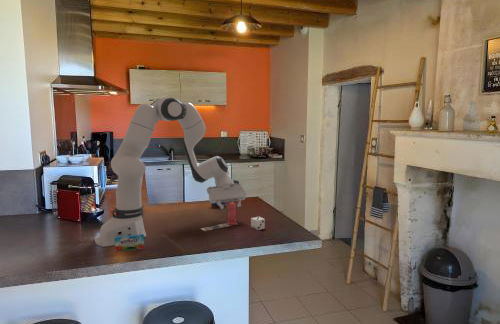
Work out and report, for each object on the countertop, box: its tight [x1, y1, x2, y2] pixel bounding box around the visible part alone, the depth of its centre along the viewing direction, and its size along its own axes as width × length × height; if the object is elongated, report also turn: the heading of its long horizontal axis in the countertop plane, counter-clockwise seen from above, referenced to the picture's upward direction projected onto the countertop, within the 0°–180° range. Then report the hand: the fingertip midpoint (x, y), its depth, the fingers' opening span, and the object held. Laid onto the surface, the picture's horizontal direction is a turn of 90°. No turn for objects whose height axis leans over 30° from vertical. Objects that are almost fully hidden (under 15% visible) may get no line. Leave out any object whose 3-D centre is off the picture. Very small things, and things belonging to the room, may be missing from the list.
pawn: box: [226, 201, 237, 226], centre depth 183 cm, size 5×5×11 cm
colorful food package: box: [114, 234, 146, 253], centre depth 150 cm, size 12×2×6 cm, turn 108°
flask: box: [210, 202, 227, 208], centre depth 220 cm, size 9×3×11 cm, turn 88°
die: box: [250, 216, 266, 231], centre depth 179 cm, size 5×5×5 cm
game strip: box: [200, 222, 238, 232], centre depth 179 cm, size 22×12×1 cm, turn 125°
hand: (231, 207), depth 183 cm, fingers open, 8 cm apart
